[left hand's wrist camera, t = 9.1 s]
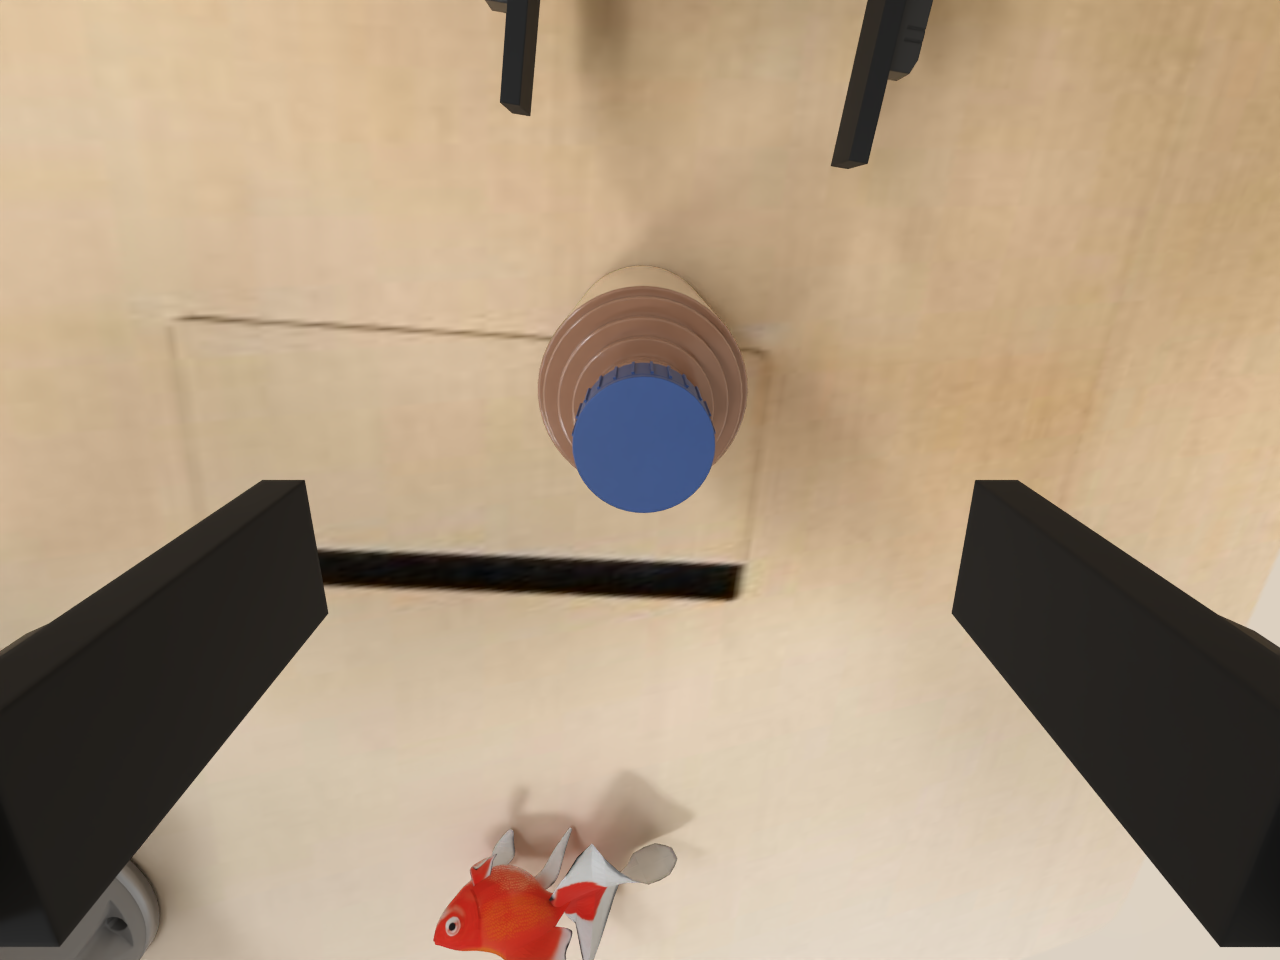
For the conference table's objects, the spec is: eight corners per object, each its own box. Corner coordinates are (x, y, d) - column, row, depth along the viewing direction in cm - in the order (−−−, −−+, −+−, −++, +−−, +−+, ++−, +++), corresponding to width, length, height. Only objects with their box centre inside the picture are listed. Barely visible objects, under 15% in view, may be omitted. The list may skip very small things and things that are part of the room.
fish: (430, 807, 42) (461, 997, 36) (658, 751, 49) (719, 901, 42) (419, 877, 49) (444, 1048, 42) (622, 819, 56) (669, 958, 49)
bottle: (575, 407, 39) (519, 566, 21) (568, 266, 36) (496, 306, 18) (710, 405, 38) (772, 562, 20) (712, 263, 36) (786, 301, 18)
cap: (579, 490, 21) (574, 515, 20) (573, 361, 20) (566, 375, 18) (708, 488, 21) (715, 513, 20) (711, 359, 20) (718, 373, 18)
